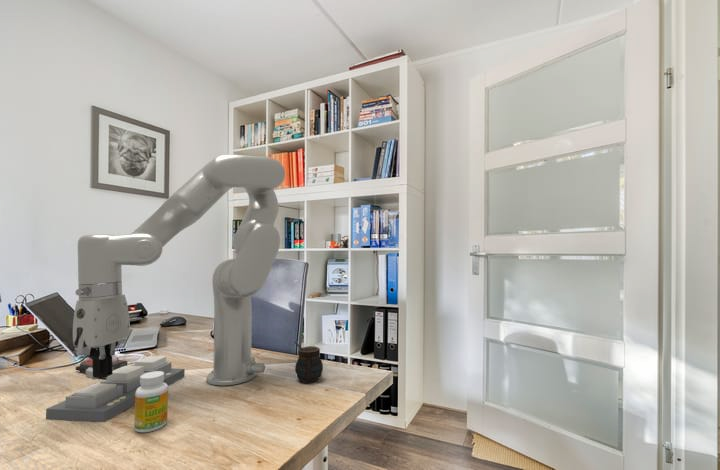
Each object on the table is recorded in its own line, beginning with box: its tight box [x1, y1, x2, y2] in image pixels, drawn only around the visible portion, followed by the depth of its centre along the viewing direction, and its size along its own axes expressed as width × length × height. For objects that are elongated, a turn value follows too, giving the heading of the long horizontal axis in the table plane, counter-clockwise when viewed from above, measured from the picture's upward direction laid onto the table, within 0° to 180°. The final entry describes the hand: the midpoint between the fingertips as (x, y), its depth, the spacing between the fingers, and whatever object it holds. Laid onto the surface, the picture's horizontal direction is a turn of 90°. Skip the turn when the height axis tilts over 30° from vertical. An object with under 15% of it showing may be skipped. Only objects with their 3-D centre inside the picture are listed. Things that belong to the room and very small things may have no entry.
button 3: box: [73, 382, 116, 397], centre depth 72 cm, size 5×5×2 cm
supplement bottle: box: [133, 371, 169, 433], centre depth 65 cm, size 5×5×10 cm
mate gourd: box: [293, 341, 324, 384], centre depth 88 cm, size 7×8×10 cm
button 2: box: [106, 365, 144, 382], centre depth 80 cm, size 5×5×2 cm
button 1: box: [134, 355, 167, 370], centre depth 87 cm, size 5×5×2 cm
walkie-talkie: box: [75, 355, 128, 380], centre depth 94 cm, size 9×4×20 cm
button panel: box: [45, 361, 186, 423], centre depth 79 cm, size 13×25×4 cm, turn 173°
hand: (102, 375), depth 72 cm, fingers closed
